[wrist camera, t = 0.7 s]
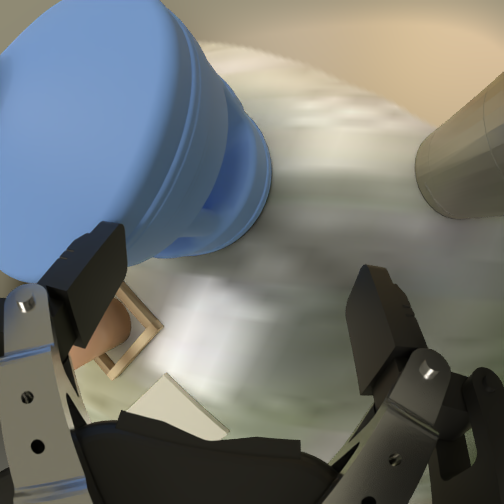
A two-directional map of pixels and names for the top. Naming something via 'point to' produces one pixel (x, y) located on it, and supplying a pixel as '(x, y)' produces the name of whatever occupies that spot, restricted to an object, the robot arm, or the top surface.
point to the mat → (178, 410)
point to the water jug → (121, 138)
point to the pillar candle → (104, 335)
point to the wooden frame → (151, 330)
